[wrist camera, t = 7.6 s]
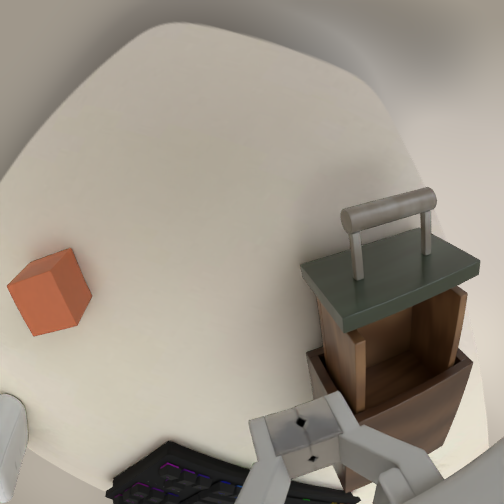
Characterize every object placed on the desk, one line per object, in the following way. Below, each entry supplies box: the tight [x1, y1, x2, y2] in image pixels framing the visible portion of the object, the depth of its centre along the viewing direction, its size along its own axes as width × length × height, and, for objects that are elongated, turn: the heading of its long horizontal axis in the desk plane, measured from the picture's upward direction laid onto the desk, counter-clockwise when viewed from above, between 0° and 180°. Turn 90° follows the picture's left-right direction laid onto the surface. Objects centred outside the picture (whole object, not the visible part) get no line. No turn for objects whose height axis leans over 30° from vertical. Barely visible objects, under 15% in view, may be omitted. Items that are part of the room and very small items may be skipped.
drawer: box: [300, 187, 480, 415], centre depth 23 cm, size 19×12×8 cm, turn 13°
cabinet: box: [306, 347, 473, 493], centre depth 28 cm, size 15×13×10 cm
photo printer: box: [0, 394, 28, 503], centre depth 21 cm, size 10×4×12 cm, turn 154°
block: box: [7, 248, 92, 336], centre depth 20 cm, size 4×4×4 cm
